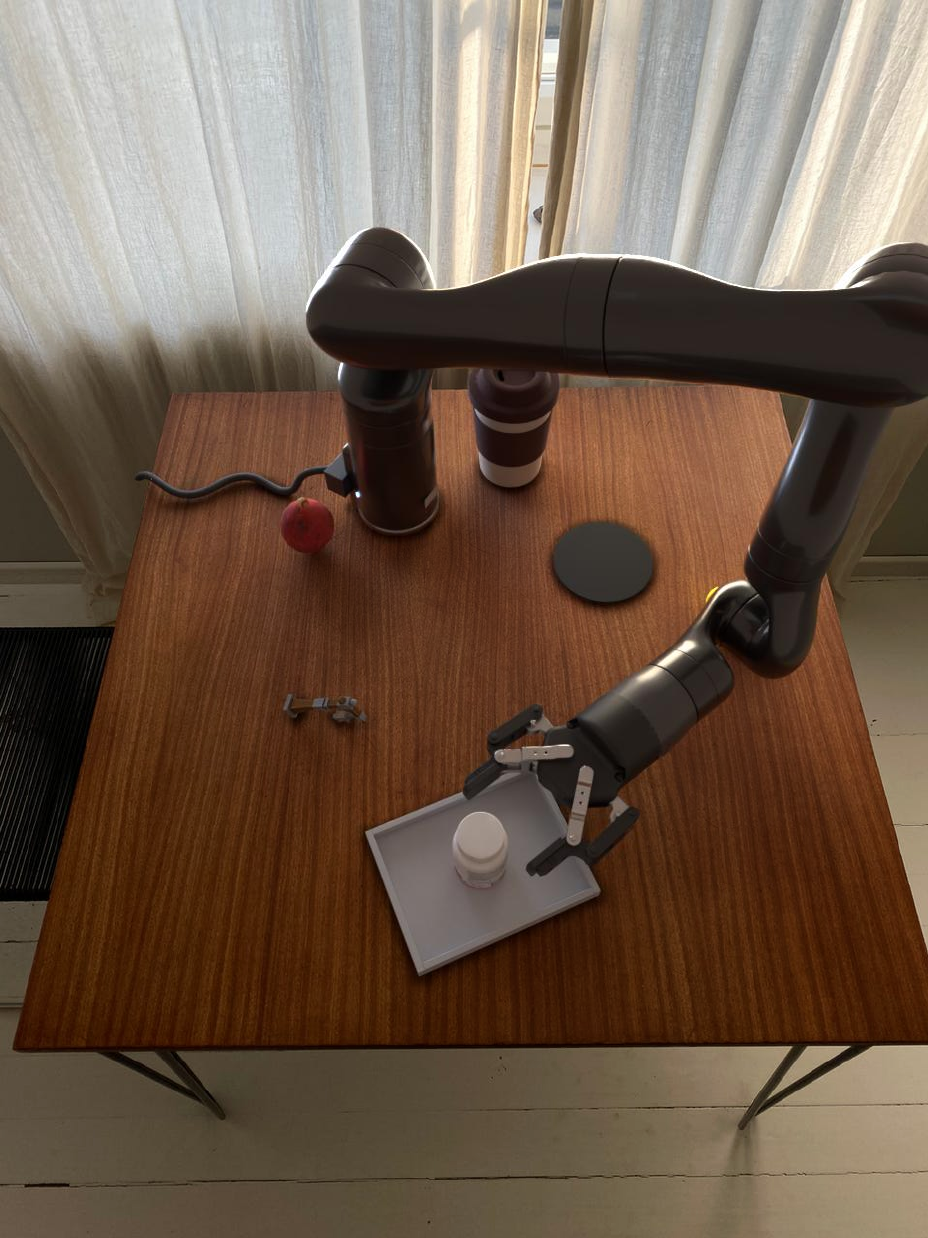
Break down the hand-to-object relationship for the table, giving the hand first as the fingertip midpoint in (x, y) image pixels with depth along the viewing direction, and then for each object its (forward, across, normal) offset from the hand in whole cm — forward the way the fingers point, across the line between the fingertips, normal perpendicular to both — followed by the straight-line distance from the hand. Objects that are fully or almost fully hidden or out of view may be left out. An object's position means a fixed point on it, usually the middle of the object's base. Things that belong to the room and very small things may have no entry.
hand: (496, 832), depth 74 cm
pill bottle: (+2, 0, +6) cm, 6 cm away
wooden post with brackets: (+4, -22, +6) cm, 23 cm away
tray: (+2, 0, +6) cm, 7 cm away
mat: (-30, -18, +6) cm, 36 cm away
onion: (-6, -40, +6) cm, 41 cm away
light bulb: (-37, -4, +5) cm, 37 cm away
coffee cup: (-31, -35, +6) cm, 48 cm away
